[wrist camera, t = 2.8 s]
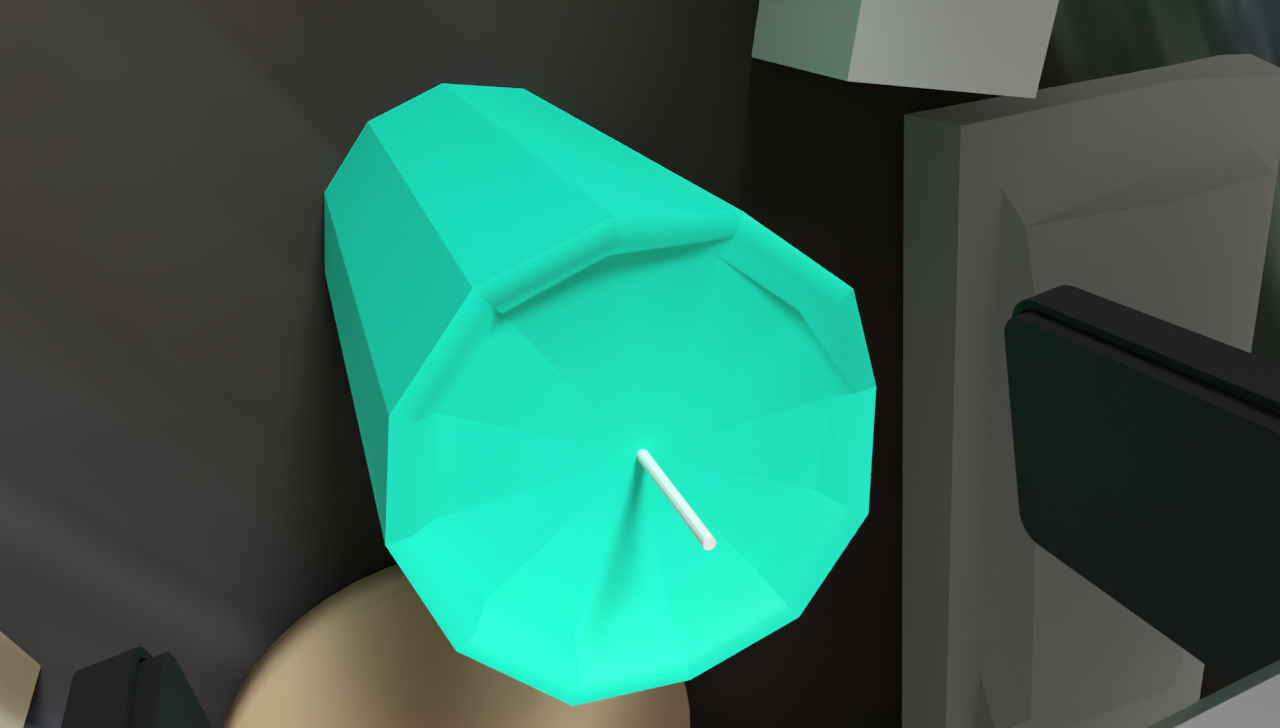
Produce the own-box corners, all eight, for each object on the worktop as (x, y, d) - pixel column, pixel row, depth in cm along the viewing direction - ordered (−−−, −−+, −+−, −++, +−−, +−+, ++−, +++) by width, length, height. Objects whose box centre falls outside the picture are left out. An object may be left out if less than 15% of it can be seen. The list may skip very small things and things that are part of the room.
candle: (565, 401, 23) (836, 802, 12) (283, 339, 20) (320, 776, 10) (660, 136, 21) (1061, 333, 11) (368, 34, 19) (519, 160, 8)
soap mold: (886, 772, 32) (955, 862, 28) (883, 110, 23) (979, 136, 20) (1159, 670, 34) (1249, 742, 31) (1243, 44, 26) (1376, 59, 23)
